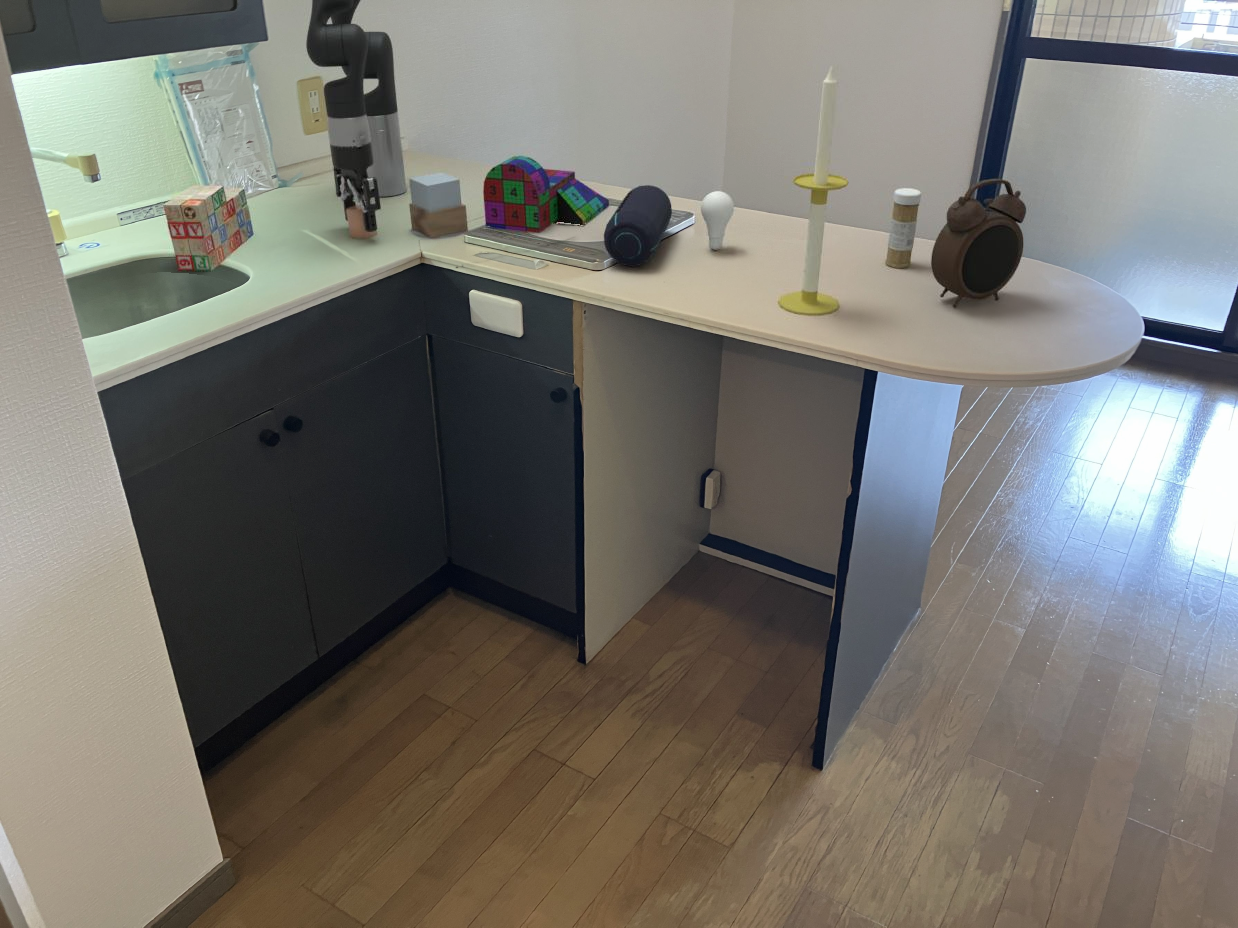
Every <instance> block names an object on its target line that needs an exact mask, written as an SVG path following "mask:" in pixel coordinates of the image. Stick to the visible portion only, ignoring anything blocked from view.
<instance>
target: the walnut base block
mask: <svg viewBox="0 0 1238 928" xmlns="http://www.w3.org/2000/svg"><path fill="white" fill-rule="evenodd" d="M461 204H462V205H461V206H456V207H452V208H447V209H442V210H438V211H433V212H429V211H426V210H424V209H422V208H420V207H417V206H415V205H413V204H412V202H411V203H408V205H409V214H410V225H411V230H412V229H413V230H415V231H418V232H420V233H422V234H424V235H426V236H428V237H430V238H432V240H434V239H433V238H437V237H441V236H446V235H450V234H455V233H459V232H464V231H466V232H468V230H469V227H468V217H467V206H466V204H463V203H461Z"/></svg>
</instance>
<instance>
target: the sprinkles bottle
mask: <svg viewBox="0 0 1238 928" xmlns="http://www.w3.org/2000/svg"><path fill="white" fill-rule="evenodd" d="M921 198H922V192H921V191H920V190H918V189H916V188H910V187H909V188H907V187H906V188H905V187H903V188H898V189H895V191H894V193H893V199H892V200H893V209H892V215H891V221H890V229H889V234H888V242H887V252H886V259H885V264H886V265H887V266H889V267H891V268H894V269H896V268H897V269H905V268H908V267H910V266H911V264H912V263H911V262H912V261H911V260H912V259H911V258H912V252H913V247H914V242H915V236H916V228H917V222H918V213H919V212H918V211H919V206H920V203H921Z"/></svg>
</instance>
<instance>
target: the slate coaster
mask: <svg viewBox="0 0 1238 928" xmlns="http://www.w3.org/2000/svg"><path fill="white" fill-rule="evenodd" d="M465 233H467V231H464V232H459V233H455V234H450V235H446V236H441V237H437V238H433V239H432V238H430V237H428V236H426V235H424V234H422V233H420V232H418V231H415V230H413V229H412V228H411V234H413V236H416V237H418V238H421V239H432V240H436V239H437V240H438V239H449V238H455V237H459V236H461V235H464V234H465Z"/></svg>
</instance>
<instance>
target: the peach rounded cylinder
mask: <svg viewBox="0 0 1238 928" xmlns="http://www.w3.org/2000/svg"><path fill="white" fill-rule="evenodd" d="M346 212H347V219H348V221H347V225H348V232H349V233H348V234H349V237H351V238H352V239H353V238H354V239H368V238H369V239H370V238H372V237H373V238H374V237H375V236H377V234H378V232H377V230H376V231H372V232H367V231H366V230H365V226H364V218H363V210H362V208H361V205H360V204H356V206H352V207H349V208H347V209H346Z"/></svg>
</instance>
